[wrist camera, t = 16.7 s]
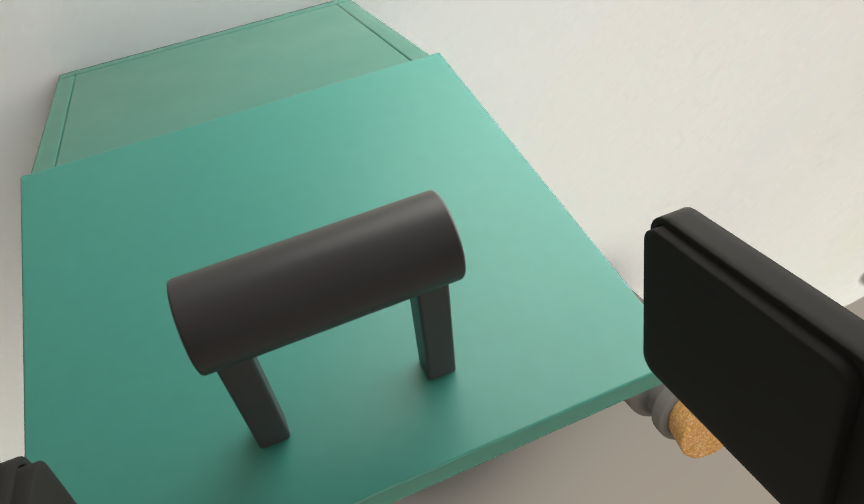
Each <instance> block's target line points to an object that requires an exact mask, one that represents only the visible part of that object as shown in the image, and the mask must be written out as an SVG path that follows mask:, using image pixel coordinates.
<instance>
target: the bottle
mask: <svg viewBox="0 0 864 504" xmlns="http://www.w3.org/2000/svg"><path fill="white" fill-rule="evenodd" d="M633 293H634V294H635V295H636V296H637V298H638V299H639V300H640V301H641V303H642V304H643V305H644V300H643V299H641V298H640V297H639V296H638V295H637V294H636V293H635V292H634V291H633ZM624 401H625V402H626V403H627V404H628V405H629V406H630V407H631V409H633V410H634V411H635V412H636V413H638V414H640V415H643V416H652V421H653V424H654V425H655V427H656V428H657V429H658V431H659V432H660V433H661V434H662V435H663V436H665V437H667V438H669V439H674V440H676V442H677V443H678V445H679V447H680V449H681V450H682V452H683V453H684V454H685V455H686V456H689V457H692V458H700V457H704V456H707V455H710V454H712V453H714V452H716V451H718V450H719V449H721V448H722V447H724V446H723V445H722V444H721V442H720V441H719V440H718V439H717V438H716V437H715V436H714V435H713V434H712V433H711V432H710V431H709V430H708V429H707V428H706V427H705V426H704V425H703V424H702V423H701V422H700V421H699V420H698V419H697V418H696V417H695V416H694V415H693V414H692V413H691V412H690V411H689V410H688V409H687V408H686V407H685V406H684V405H683V404H682V403H681V402H680V400H679V399H678V398H677V397H676V396H675V395H674V394H673V393H672V392H671V391H670V390H669V389H668V388H667V387H666V386H665V385H664V384H663V383H662V384H660V385H658V386H656V387H653V388H651V389H649V390H647V391H644V392H642V393H640V394H638V395H635V396H633V397H631V398H629V399H626V400H624Z"/></svg>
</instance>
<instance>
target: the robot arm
mask: <svg viewBox="0 0 864 504" xmlns="http://www.w3.org/2000/svg"><path fill="white" fill-rule="evenodd" d="M643 353H644V358H645V361H646V363H647V365H648V367H649V369H650V370H651V371H652V373H653V374H654V375H655V376H656V377H657V378H658V379H659V380H660V381H661V382H662V383H663V384H664V385H665V386H666V387H667V388H668V389H669V390H670V391H671V392H672V393H673V394H674V395H675V396H676V397H677V398H678V399H679V400H680V402H681V403H682V404H683V405H684V406H685V407H686V408H687V409H688V410H689V411H690V412H691V413H692V414H693V415H694V416H695V417H696V418H697V419H698V420H699V421H700V422H701V423H702V424H703V425H704V426H705V427H706V428H707V429H708V430H709V431H710V432H711V433H712V434H713V435H714V436H715V437H716V438H717V439H718V440H719V441H720V442H721V444H722V445H723V446H724V447H726V449H727V450H728V451H729V452H730V453H731V454H732V455H733V456H734V457H735V458H736V459H737V460H738V461H739V462H740V463H741V464H742V465H743V466H744V467H745V468H746V469H747V470H748V471H749V472H750V473H751V474H752V475H753V476H754V477H755V478H756V479H757V480H758V481H759V482H760V483H761V484H762V485H763V486H764V488H765V489H766V490H767V491H768V492H769V493H770V494H771V495H772V496H773V497H774V498H775V499H776V500H777V501H778V502H779V503H780V504H864V320H863V319H861V318H860V317H858V316H857V315H855V314H854V313H852V312H850V311H849V310H848V309H846V308H844V307H843V306H841V305H840V304H838V303H837V302H835V301H834V300H832V299H831V298H829V297H828V296H826V295H825V294H823V293H822V292H820V291H819V290H817V289H815V288H814V287H812V286H811V285H809V284H808V283H806V282H805V281H803V280H802V279H800V278H799V277H797V276H796V275H794V274H793V273H791V272H790V271H788V270H786V269H785V268H783V267H782V266H780V265H779V264H777V263H776V262H774V261H773V260H771V259H770V258H768V257H767V256H765V255H764V254H762V253H761V252H759V251H757V250H756V249H754V248H753V247H751V246H750V245H748V244H747V243H745V242H744V241H742V240H741V239H739V238H738V237H736V236H735V235H733V234H732V233H730V232H728V231H727V230H725V229H724V228H722V227H721V226H719V225H718V224H716V223H715V222H713V221H712V220H710V219H709V218H707V217H706V216H704V215H703V214H701V213H700V212H698V211H696V210H695V209H692V208H690V207H685V208H682V209H679V210H677V211H674V212H671V213H669V214H666V215H663V216H661V217H658V218H656V219H655V220H653V222H652V224H651V229H650V230H649V231H647V232H646V234H645V237H644V322H643ZM0 504H77V503H76V502H75V501H74V499H73V498H72V497H71V495H70V494H69V493H68V491H67V490H66V489H65V487H64V486H63V485H62V483H61V482H60V481H59V479H58V478H57V477H56V475H55V474H54V473H53V471H52V470H51V469H50V467H49V466H48V465H47V464H46V463H45V462H43V461H36V462H34V463H31V462H30V461H29V460H28V459H27V458H25V457H23V456H21V457H16V458H13V459H11V460H8V461H5V462H3V463H0Z"/></svg>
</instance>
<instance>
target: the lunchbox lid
mask: <svg viewBox="0 0 864 504" xmlns="http://www.w3.org/2000/svg"><path fill="white" fill-rule="evenodd" d="M21 228H22V296H23V363H24V431H25V458H27V459H28V460H29V461H30V462H31V463H34V462H36V461H43V462H45V463H46V464H47V465H48V466H49V467H50V469H51V470H52V471H53V473H54V474H55V475H56V477H57V478H58V479H59V481H60V482H61V483H62V485H63V486H64V487H65V489H66V490H67V491H68V493H69V494H70V495H71V497H72V498H73V499H74V501H75V502H76V503H77V504H391V503H393V502H395V501H397V500H400V499H402V498H404V497H407V496H409V495H411V494H413V493H416V492H418V491H420V490H422V489H424V488H427V487H429V486H431V485H434V484H436V483H438V482H441V481H443V480H445V479H447V478H449V477H452V476H454V475H456V474H459V473H461V472H463V471H465V470H468V469H470V468H472V467H474V466H477V465H479V464H481V463H484V462H486V461H488V460H490V459H493V458H495V457H497V456H499V455H502V454H504V453H506V452H508V451H511V450H513V449H515V448H518V447H520V446H522V445H524V444H527V443H529V442H531V441H533V440H535V439H538V438H540V437H542V436H545V435H547V434H549V433H551V432H554V431H556V430H558V429H561V428H563V427H565V426H567V425H569V424H572V423H574V422H576V421H579V420H581V419H583V418H585V417H587V416H590V415H592V414H594V413H597V412H599V411H601V410H603V409H606V408H608V407H610V406H613V405H615V404H617V403H619V402H622V401H624V400H626V399H629V398H631V397H633V396H635V395H638V394H640V393H642V392H644V391H647V390H649V389H651V388H653V387H656V386H658V385H660V384H662V382H661V381H660V380H659V379H658V378H657V377H656V376H655V375H654V374H653V373H652V371H651V370H650V369H649V367H648V365H647V363H646V361H645V358H644V353H643V322H644V305H643V304H642V303H641V301H640V300H639V299H638V298H637V296H636V295H635V294H634V293H633V291H632V290H631V289H630V288H629V287H628V285H627V284H626V283H625V282H624V280H623V279H622V278H621V277H620V275H619V274H618V273H617V272H616V270H615V269H614V268H613V267H612V266H611V264H610V263H609V262H608V261H607V259H606V258H605V257H604V256H603V254H602V253H601V252H600V251H599V249H598V248H597V247H596V246H595V245H594V243H593V242H592V241H591V240H590V238H589V237H588V236H587V235H586V233H585V232H584V231H583V230H582V228H581V227H580V226H579V225H578V224H577V222H576V221H575V220H574V219H573V217H572V216H571V215H570V214H569V212H568V211H567V210H566V209H565V207H564V206H563V205H562V204H561V203H560V201H559V200H558V199H557V198H556V196H555V195H554V194H553V193H552V191H551V190H550V189H549V188H548V186H547V185H546V184H545V183H544V182H543V180H542V179H541V178H540V177H539V175H538V174H537V173H536V172H535V170H534V169H533V168H532V167H531V165H530V164H529V163H528V162H527V161H526V159H525V158H524V157H523V156H522V154H521V153H520V152H519V151H518V149H517V148H516V147H515V146H514V144H513V143H512V142H511V141H510V140H509V138H508V137H507V136H506V135H505V133H504V132H503V131H502V130H501V128H500V127H499V126H498V125H497V123H496V122H495V121H494V120H493V119H492V117H491V116H490V115H489V114H488V112H487V111H486V110H485V109H484V107H483V106H482V105H481V104H480V102H479V101H478V100H477V99H476V98H475V96H474V95H473V94H472V93H471V91H470V90H469V89H468V88H467V86H466V85H465V84H464V83H463V81H462V80H461V79H460V78H459V77H458V75H457V74H456V73H455V72H454V70H453V69H452V68H451V67H450V65H449V64H448V63H447V62H446V60H445V59H444V58H443V57H442V56H441V54H440V53H435V54H432V55H429V56H425V57H422V58H418V59H415V60H412V61H408V62H405V63H402V64H398V65H395V66H392V67H388V68H385V69H381V70H378V71H375V72H371V73H368V74H365V75H361V76H358V77H355V78H351V79H348V80H344V81H341V82H338V83H334V84H331V85H328V86H324V87H321V88H318V89H314V90H311V91H307V92H304V93H301V94H297V95H294V96H291V97H287V98H284V99H281V100H277V101H274V102H271V103H267V104H264V105H260V106H257V107H254V108H250V109H247V110H244V111H240V112H237V113H234V114H230V115H227V116H223V117H220V118H217V119H213V120H210V121H207V122H203V123H200V124H197V125H193V126H190V127H186V128H183V129H180V130H176V131H173V132H170V133H166V134H163V135H160V136H156V137H153V138H149V139H146V140H143V141H139V142H136V143H133V144H129V145H126V146H123V147H119V148H116V149H112V150H109V151H106V152H102V153H99V154H96V155H92V156H89V157H86V158H82V159H79V160H76V161H72V162H69V163H65V164H62V165H59V166H55V167H52V168H49V169H45V170H42V171H39V172H35V173H32V174H28V175H25V176H22V177H21Z"/></svg>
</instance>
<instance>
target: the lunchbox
mask: <svg viewBox="0 0 864 504" xmlns="http://www.w3.org/2000/svg"><path fill="white" fill-rule="evenodd" d="M425 56H429V54H427V53H426V52H424V51H423V50H421V49H420V48H418V47H417V46H416V45H414V44H413V43H411V42H410V41H408V40H407V39H406V38H404V37H403V36H401V35H400V34H398V33H397V32H396V31H394V30H393V29H391V28H390V27H388V26H387V25H385V24H384V23H383V22H381V21H380V20H378V19H377V18H375V17H374V16H373V15H371V14H370V13H368V12H367V11H365V10H364V9H363V8H361V7H360V6H358V5H357V4H355V3H354V2H352V1H351V0H335V1H332V2H328V3H324V4H321V5H317V6H313V7H309V8H306V9H302V10H298V11H295V12H291V13H287V14H284V15H280V16H276V17H273V18H269V19H265V20H261V21H258V22H254V23H250V24H247V25H243V26H239V27H236V28H232V29H228V30H224V31H221V32H217V33H213V34H210V35H206V36H202V37H199V38H195V39H191V40H188V41H184V42H180V43H176V44H173V45H169V46H165V47H162V48H158V49H154V50H151V51H147V52H143V53H139V54H136V55H132V56H128V57H125V58H121V59H117V60H114V61H110V62H106V63H103V64H99V65H95V66H91V67H88V68H84V69H80V70H77V71H73V72H69V73H66V74H62V75H60V77H59V80H58V84H57V87H56V91H55V94H54V97H53V101H52V104H51V108H50V111H49V114H48V118H47V121H46V125H45V128H44V131H43V135H42V138H41V142H40V145H39V148H38V152H37V155H36V158H35V162H34V165H33V169H32V172H31V174H32V173H35V172H39V171H42V170H45V169H49V168H52V167H55V166H59V165H62V164H65V163H69V162H72V161H76V160H79V159H82V158H86V157H89V156H92V155H96V154H99V153H102V152H106V151H109V150H112V149H116V148H119V147H123V146H126V145H129V144H133V143H136V142H139V141H143V140H146V139H149V138H153V137H156V136H160V135H163V134H166V133H170V132H173V131H176V130H180V129H183V128H186V127H190V126H193V125H197V124H200V123H203V122H207V121H210V120H213V119H217V118H220V117H223V116H227V115H230V114H234V113H237V112H240V111H244V110H247V109H250V108H254V107H257V106H260V105H264V104H267V103H271V102H274V101H277V100H281V99H284V98H287V97H291V96H294V95H297V94H301V93H304V92H307V91H311V90H314V89H318V88H321V87H324V86H328V85H331V84H334V83H338V82H341V81H344V80H348V79H351V78H355V77H358V76H361V75H365V74H368V73H371V72H375V71H378V70H381V69H385V68H388V67H392V66H395V65H398V64H402V63H405V62H408V61H412V60H415V59H418V58H422V57H425Z"/></svg>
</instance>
